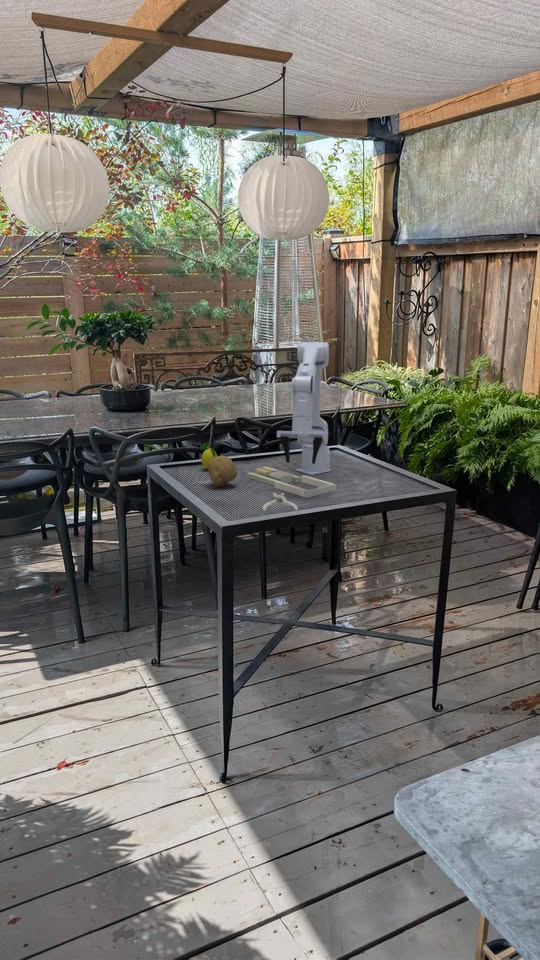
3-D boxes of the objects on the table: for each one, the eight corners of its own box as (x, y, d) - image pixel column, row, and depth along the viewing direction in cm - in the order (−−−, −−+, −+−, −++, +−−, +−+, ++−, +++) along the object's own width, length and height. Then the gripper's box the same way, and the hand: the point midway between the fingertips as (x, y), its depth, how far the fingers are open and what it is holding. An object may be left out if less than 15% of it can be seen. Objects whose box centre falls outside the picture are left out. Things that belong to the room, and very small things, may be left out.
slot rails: (270, 472, 238) (270, 468, 237) (300, 481, 227) (300, 477, 226) (247, 477, 232) (247, 473, 231) (276, 486, 221) (276, 482, 220)
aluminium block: (280, 479, 230) (280, 470, 230) (292, 483, 226) (292, 474, 225) (268, 482, 227) (268, 473, 227) (280, 485, 223) (280, 476, 222)
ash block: (266, 475, 236) (266, 466, 235) (278, 478, 231) (278, 470, 230) (255, 477, 233) (255, 468, 232) (266, 481, 228) (266, 472, 227)
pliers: (262, 506, 196) (261, 492, 210) (262, 512, 196) (261, 497, 211) (298, 506, 196) (294, 492, 210) (298, 512, 196) (294, 497, 211)
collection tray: (304, 481, 227) (304, 475, 227) (335, 490, 216) (336, 484, 216) (274, 487, 219) (274, 481, 219) (306, 497, 209) (306, 491, 208)
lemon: (200, 468, 244) (200, 439, 241) (217, 467, 244) (217, 439, 242) (200, 472, 237) (200, 443, 235) (218, 472, 238) (217, 443, 235)
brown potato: (237, 482, 225) (237, 452, 222) (236, 490, 216) (236, 459, 214) (209, 483, 225) (208, 452, 222) (207, 490, 216) (206, 459, 214)
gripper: (275, 415, 202) (274, 462, 204) (325, 417, 200) (324, 464, 201) (279, 415, 209) (278, 461, 211) (328, 417, 207) (326, 463, 208)
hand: (300, 463), depth 207 cm, fingers open, 7 cm apart
